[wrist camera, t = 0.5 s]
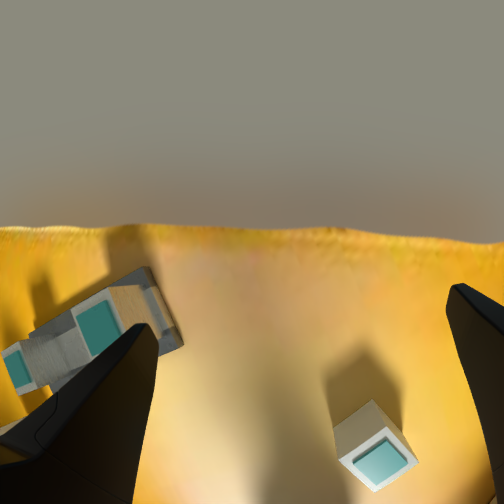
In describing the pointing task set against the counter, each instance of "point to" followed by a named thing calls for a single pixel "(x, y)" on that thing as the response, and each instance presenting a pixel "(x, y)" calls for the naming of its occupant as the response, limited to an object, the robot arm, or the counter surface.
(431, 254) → the counter surface
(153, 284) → the module docking base
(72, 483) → the robot arm
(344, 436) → the block
